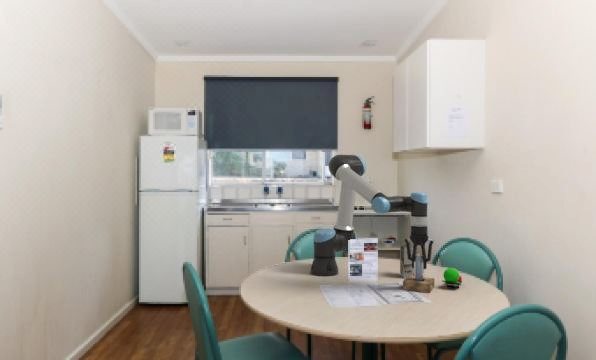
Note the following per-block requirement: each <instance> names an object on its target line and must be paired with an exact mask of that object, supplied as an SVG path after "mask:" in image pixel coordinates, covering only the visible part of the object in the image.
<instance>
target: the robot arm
mask: <svg viewBox="0 0 596 360" xmlns="http://www.w3.org/2000/svg"><path fill="white" fill-rule="evenodd" d="M328 171H329V173H330V174H331V175H332V176H333V178H335V179H336V181H341V183H340V184H341V185H340V193H339V201H338V210H337V218H336V219H337V220H336V224H334V225H333V228H321V229H317V230H316V231H315V232H314V234H313V259H312V260H313V261H312V263H311V266H310V274H311V275H313V274H314V276H318V277H330V276H337V275H339V266H338V264H337V260H336V253H338V252H347V251H349V250H348V240H350V239H357V240H358V235H357V232H356V231H355V227H354V226H353V221H354V220H353V219H354V212H355V211H354V210H355V202H356V194H358V195H359V196H360V197H361V198H363V199H365V201H367V202H368V203H369V204H370V205H371V208H372V211H373V212H375V213H376V214H389V213H401V212H403V213H410V225H411V226H410V236H409V237H407V238H405V239H404V243H405V245H406V246H407V256H408V260H411V261H412V268H414V276H416V261H415V260H416V259H415V258H416V256H417V249H418V246H420V249H421V256H422V257H423V262H422V276H423V277H424V276H425V270H427V267H428V266H427V264H428V262H430V261H432V250H433V244H434V243H435V239H431V238H429V235H428V233H429V232H428V202H429V200H428V195H427V193H426V192H418V191H416V192H411V194H410V196H407V195H393V196H387V195H386V194H384V193H383V192H382V191H380V190H379V189H378V188H376V187H375V186H374V185H372V184H371V183H370V182H368V181H367V180H366V179H365V178H363V177H362V176H364V174H365V173H366V171H367V164H366V162H365V160H364V158H363V157H362V156H360V155H357V154H356V155H355V154H336V155H334V156H333V157H331V159H330V160H329V162H328ZM411 242H412V245H413V254H412V257H411V248H410V245H411ZM427 242H428V250H427V253H426V243H427Z"/></svg>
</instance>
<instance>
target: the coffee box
mask: <svg viewBox="0 0 596 360" xmlns="http://www.w3.org/2000/svg"><path fill="white" fill-rule="evenodd" d="M413 245H414V244H410V248H411V257H412V254H413ZM399 258H400V260H399V262H400V265H399V268H400V269H399V273H400V274H399V275H400V276H401V277H402V278H403V279H406V278H407V277H408V276H414V268H412V261H411V260H408V256H407V246H406V244H400V246H399ZM415 259H416V258H415ZM415 261H416V260H415Z"/></svg>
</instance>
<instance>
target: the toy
mask: <svg viewBox="0 0 596 360" xmlns="http://www.w3.org/2000/svg"><path fill="white" fill-rule="evenodd" d="M443 279H444V280H441V282H443V283H445V286H446V287H448V286H449V287H451V288H456V287H457V288H456V289H458V288H460V286H459V284H462V282H463V280H462V276H461V275H460V271H459V270H458V269H456V268H455V267H448V268H446V270H444V271H443ZM449 287H448V288H449Z"/></svg>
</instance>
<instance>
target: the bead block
mask: <svg viewBox="0 0 596 360" xmlns="http://www.w3.org/2000/svg"><path fill="white" fill-rule="evenodd" d="M434 288H435V278H434V277H427V276H425V277H424V276H423V281H416V276H408V277H407V278H404V280H402V290H403V291H409V292H410V291H412V292H418V293H427V294H430V293H431V292H432V291H433V289H434Z"/></svg>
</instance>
